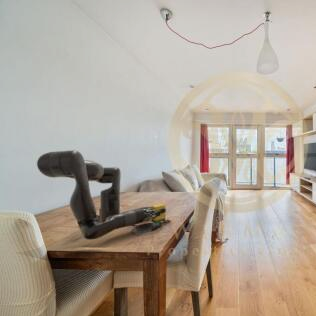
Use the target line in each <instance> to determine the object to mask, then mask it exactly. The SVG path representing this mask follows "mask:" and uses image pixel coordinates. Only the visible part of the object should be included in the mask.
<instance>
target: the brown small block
mask: <svg viewBox="0 0 316 316" xmlns="http://www.w3.org/2000/svg"><path fill="white" fill-rule="evenodd" d="M171 221H172V220H170V219H168V218H167V219H165V221H162V222H163V223H164V224H169V223H171Z"/></svg>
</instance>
